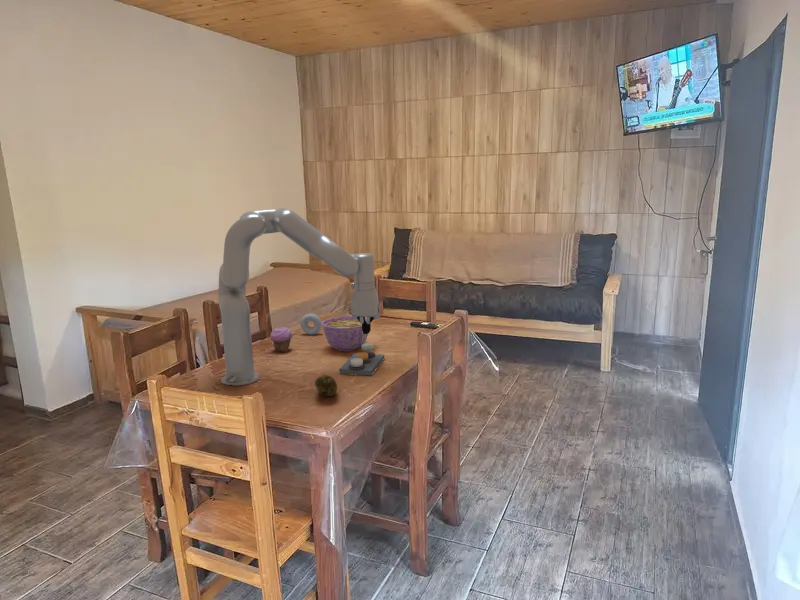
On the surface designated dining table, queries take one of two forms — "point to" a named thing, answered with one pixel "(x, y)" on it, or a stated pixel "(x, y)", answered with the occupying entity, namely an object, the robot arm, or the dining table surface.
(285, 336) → the cupcake
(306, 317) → the donut
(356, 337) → the bowl of food
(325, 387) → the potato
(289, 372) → the dining table surface
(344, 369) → the button panel
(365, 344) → the button sage
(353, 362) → the button white
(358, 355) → the button orange
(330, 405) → the dining table surface
